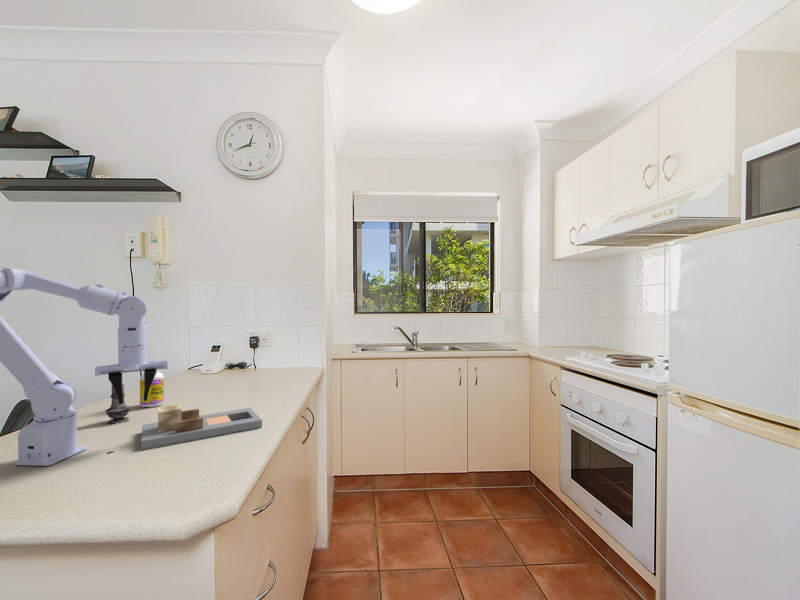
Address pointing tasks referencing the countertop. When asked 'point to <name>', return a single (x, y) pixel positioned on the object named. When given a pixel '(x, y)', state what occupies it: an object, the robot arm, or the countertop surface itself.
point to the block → (168, 417)
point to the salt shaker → (117, 409)
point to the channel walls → (189, 421)
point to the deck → (239, 422)
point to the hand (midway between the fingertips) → (133, 401)
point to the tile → (218, 420)
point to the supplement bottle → (153, 391)
